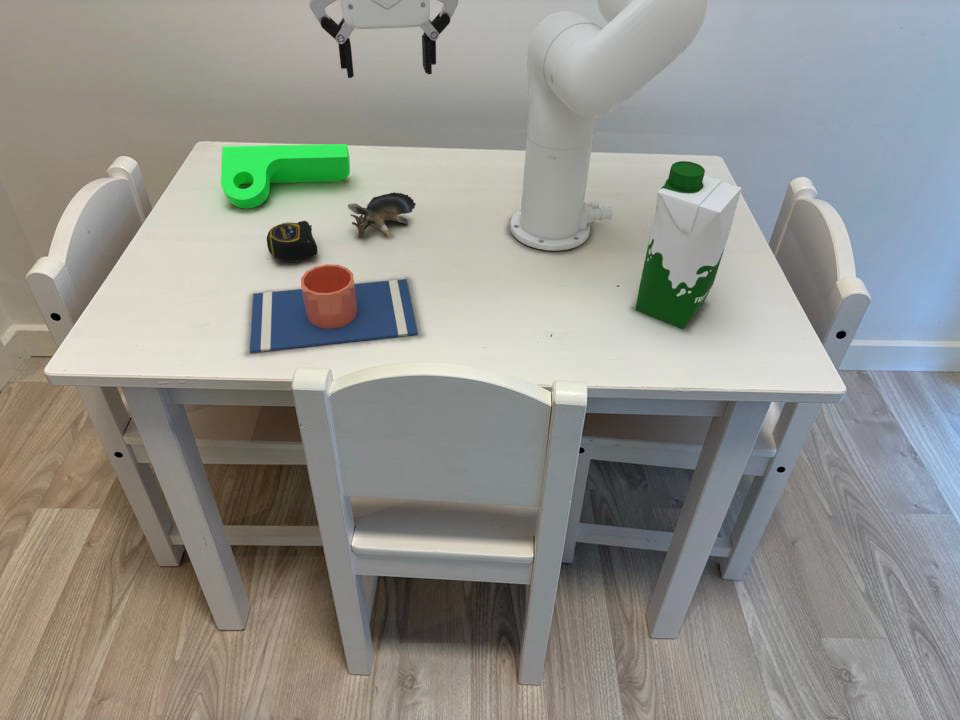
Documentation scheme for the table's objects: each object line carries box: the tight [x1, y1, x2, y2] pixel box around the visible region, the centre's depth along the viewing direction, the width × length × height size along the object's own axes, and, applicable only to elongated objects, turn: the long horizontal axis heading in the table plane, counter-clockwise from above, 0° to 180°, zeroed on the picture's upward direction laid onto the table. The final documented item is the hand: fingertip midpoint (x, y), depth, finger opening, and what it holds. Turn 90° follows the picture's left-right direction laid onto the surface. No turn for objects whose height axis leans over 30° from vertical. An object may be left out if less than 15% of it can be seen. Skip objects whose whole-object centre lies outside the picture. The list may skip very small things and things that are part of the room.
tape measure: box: [266, 220, 318, 263], centre depth 101 cm, size 7×7×4 cm
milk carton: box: [635, 160, 743, 330], centre depth 88 cm, size 9×9×20 cm
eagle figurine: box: [347, 191, 417, 238], centre depth 106 cm, size 8×7×9 cm
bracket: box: [220, 143, 351, 210], centre depth 114 cm, size 20×10×7 cm
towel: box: [249, 278, 419, 354], centre depth 92 cm, size 21×12×1 cm, turn 102°
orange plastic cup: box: [300, 263, 357, 329], centre depth 90 cm, size 7×7×6 cm
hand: (389, 72), depth 86 cm, fingers open, 9 cm apart
